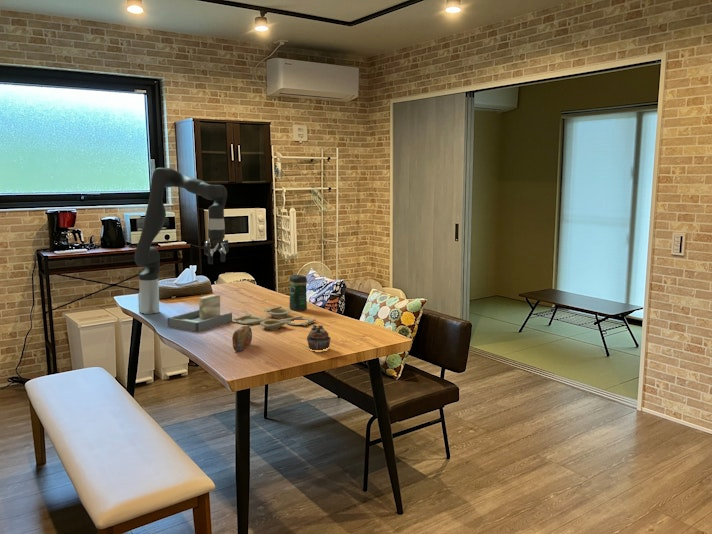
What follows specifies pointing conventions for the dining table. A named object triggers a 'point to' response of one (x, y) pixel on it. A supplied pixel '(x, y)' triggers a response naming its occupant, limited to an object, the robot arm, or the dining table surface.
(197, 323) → the grey tray
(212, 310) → the birch block
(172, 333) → the dining table surface
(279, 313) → the tableware set
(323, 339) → the cupcake
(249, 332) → the brown flat stone
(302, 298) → the coffee jar
